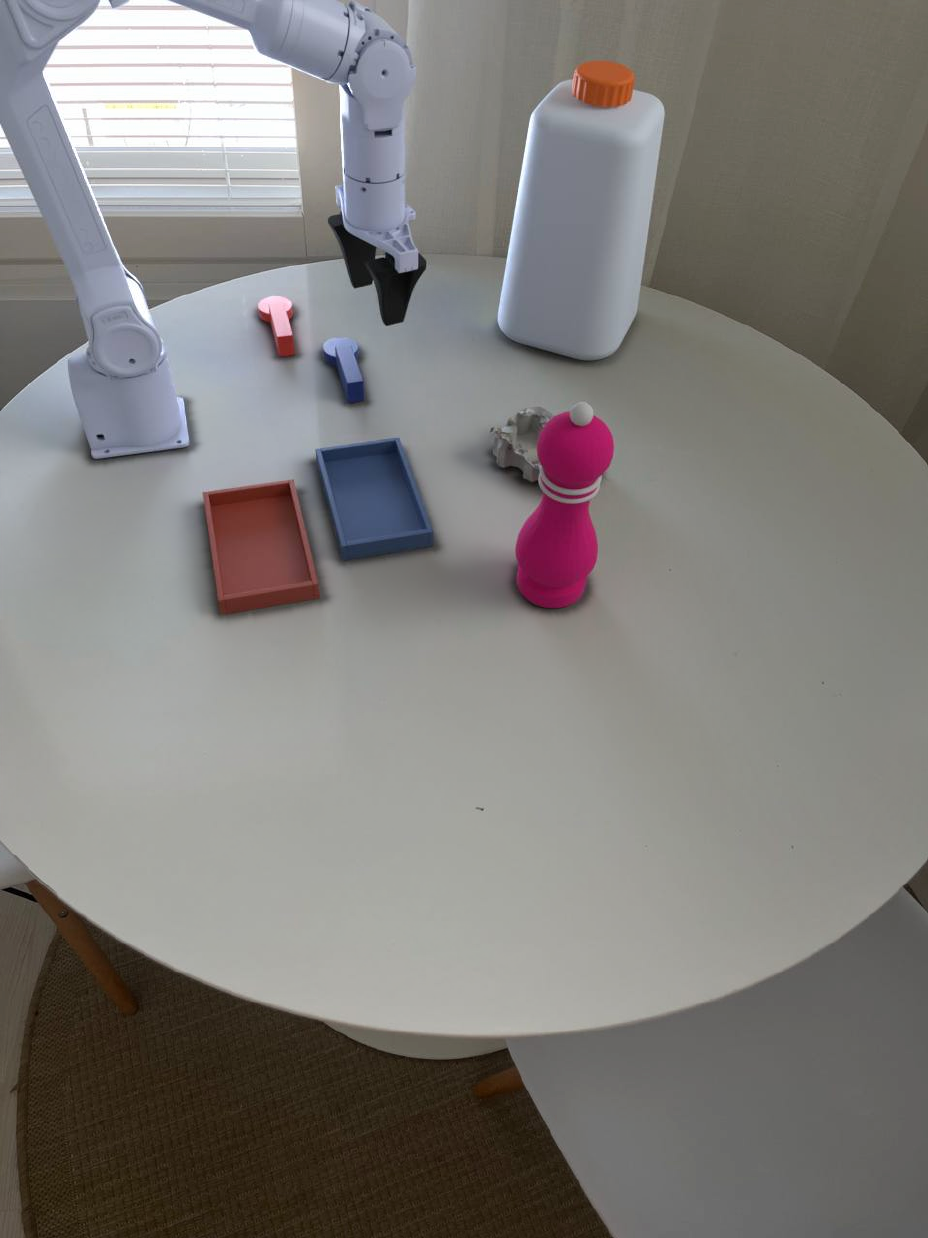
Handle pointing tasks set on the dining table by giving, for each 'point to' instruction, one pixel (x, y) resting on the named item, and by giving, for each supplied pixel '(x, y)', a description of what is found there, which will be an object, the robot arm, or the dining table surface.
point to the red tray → (259, 547)
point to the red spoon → (279, 322)
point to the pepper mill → (564, 509)
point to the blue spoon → (346, 365)
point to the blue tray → (373, 499)
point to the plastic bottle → (582, 214)
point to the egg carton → (521, 441)
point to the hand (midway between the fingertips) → (377, 303)
